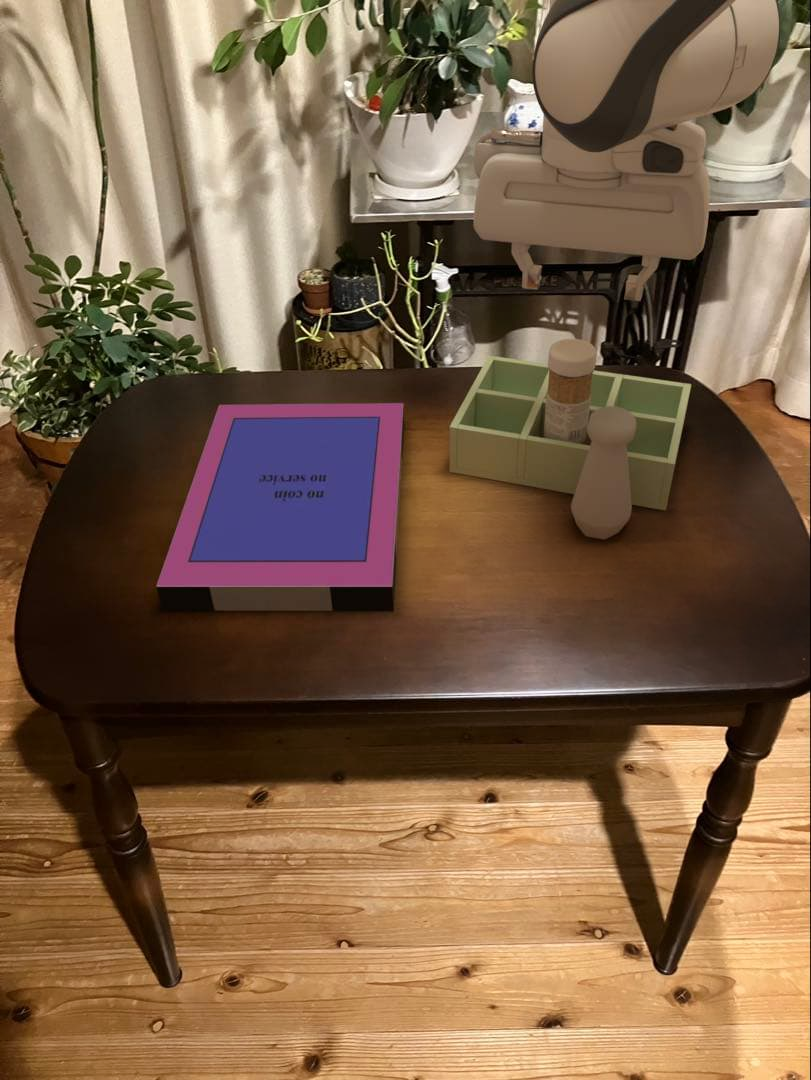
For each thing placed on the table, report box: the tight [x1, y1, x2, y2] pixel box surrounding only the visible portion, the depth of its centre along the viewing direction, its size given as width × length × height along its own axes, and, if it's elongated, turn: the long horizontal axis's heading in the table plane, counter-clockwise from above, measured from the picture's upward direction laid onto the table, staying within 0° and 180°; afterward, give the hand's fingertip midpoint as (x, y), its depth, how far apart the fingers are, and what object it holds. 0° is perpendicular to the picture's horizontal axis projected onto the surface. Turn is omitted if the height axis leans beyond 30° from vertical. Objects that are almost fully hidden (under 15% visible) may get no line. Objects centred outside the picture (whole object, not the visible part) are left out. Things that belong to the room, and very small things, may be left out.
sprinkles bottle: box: [544, 338, 597, 445], centre depth 92 cm, size 5×5×13 cm
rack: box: [449, 355, 692, 511], centre depth 98 cm, size 23×15×6 cm
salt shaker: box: [570, 406, 636, 540], centre depth 86 cm, size 6×6×13 cm
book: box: [156, 402, 405, 612], centre depth 93 cm, size 21×3×30 cm
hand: (581, 292), depth 84 cm, fingers open, 8 cm apart
